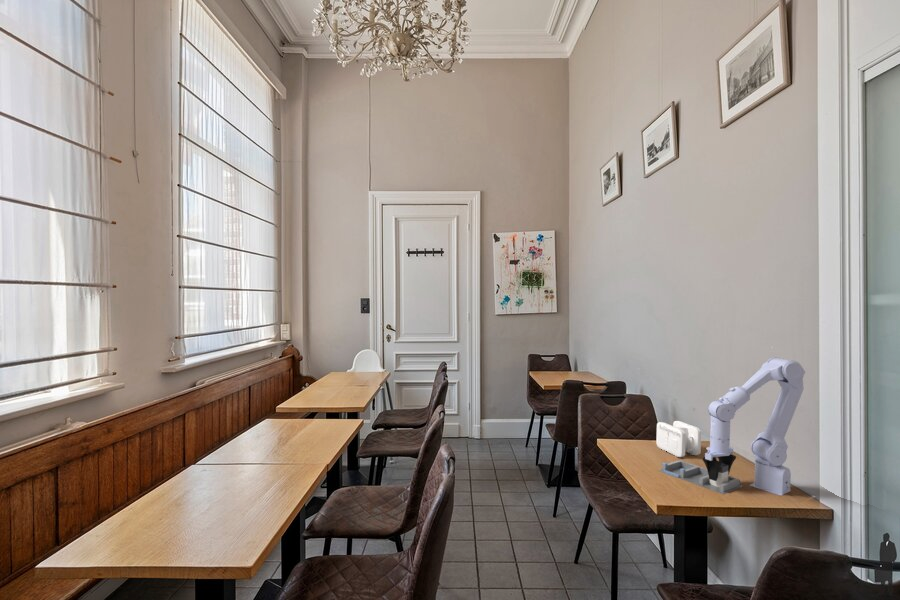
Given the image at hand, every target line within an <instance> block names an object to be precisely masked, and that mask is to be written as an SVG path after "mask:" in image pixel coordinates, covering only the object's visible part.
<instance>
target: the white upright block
mask: <svg viewBox="0 0 900 600" xmlns="http://www.w3.org/2000/svg"><path fill="white" fill-rule="evenodd" d="M728 476H729V475H728V465H727V464H723V463H722V464H721V466H720V468H719V472H718V478H717V481H714V480H711V479H710V484H711V485H714V486H717V487H720V484H723V483H726V482H728Z"/></svg>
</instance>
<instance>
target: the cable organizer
mask: <svg viewBox="0 0 900 600" xmlns="http://www.w3.org/2000/svg"><path fill="white" fill-rule="evenodd" d="M656 446H657V447H658V449H660V450H661V449H662V450H661V451H663V450H665V451H667V452H666V453H669V454H671V455H672V454H673V455H675V456H674V457H676V456H677V457H676V458H684V457H685V456H686V452H687V454H689V453H690V454H689V455H691V454H692V455H691V456H693V455H695V456H699V455H700V454H701V453H702V452H701V451H702V431H701V429H700V428H699V427H697V426H695V425H691V424H689V423H687V422H683V421H681V420H675V421H673V423H672V425H671V424H669V423H666V422H664V421H663V422H662V421H661V422H660V421H659V422H657V423H656ZM665 451H664V452H665ZM673 455H672V456H673Z"/></svg>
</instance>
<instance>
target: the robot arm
mask: <svg viewBox="0 0 900 600" xmlns="http://www.w3.org/2000/svg"><path fill="white" fill-rule="evenodd" d="M805 373H806V371H805V369H804V367H803V366H802V364H800V362H798V361H796V360H789V359H784V358H780V357H775V356H774V357H771V358H768V360H766V362H764V363H762V365H761V368H760V369H759V370H757V371H756V373H754V374H753V375H752V376H750V378H749V379H748V380H747V381H746V382H744V384H743V385H741V386H735V387H729V389H728V390H729V391H728V392H727V393H725V394H724V395H723V396H722V397H719V398H718V400H714V401H712V402H711V403H710V404H709V406H708V407H706V410H707V413H708V415H709V416H710V429H709V430H710V435H709V446H707V447H706V450H707V452H705V453H704V456H702V461H703V463H704V465H705V468H706V469H707V471H708V475H709V479H711V480H714V481H717V478H718V472H719V468H720V466H721V464H722V463H723V464H727V465H728V476H730V475H729V474H730V472H731V468H732V466H733V464H734V462H735V460H736V459H737V456H736V455H735V454H734V448H733V447H731V445H730V444H731V420H733V419H734V418H735V415H736V413H737V411H739V409H740V408H742V406H744V405H745V404H747V403H748V402H749V401H750V400H751V395H752V393H754V392H756V391H757V390H758V389H760V388H761V387H762V386H764V385H766V384H767V383H769V381H777V382H778V385H779V386H780V387H781V390H780V392H779V394H778V398H777V399H776V403H775V405H774V407H773V410H772V413H771V415H770V418H769V420H768V422H767V425H766V428H765V430H763V431H762V432H760V433H758V434H757V437H756V438H755V439H754V440H753V441H752V442H751V444H750V452H752V454H753V455H754V482H753V483H750V484H749V487H753V488H757V489H759V490H762V491H766V492H769V493H771V494H774V495H778V496H783V495H785V494H788V493H789V492H790V493H791V491H792V490H791V479H792V478H791V475H792V474H791V469H790V468H789V467H786V466H784V464H785V462H786V461H787V459H788V454H787V451H788V447H789V445H788V444H787V442H786V439H785V437H786V435H787V433H788V429H789V426H790V425H791V421H792V419H793V418H794V415H795V412H796V410H797V407H798V404H799V402H800V399H801V398H802V397H801V396H802V394H803V392H804V376H805ZM717 458H718V459H717Z"/></svg>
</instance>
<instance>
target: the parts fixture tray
mask: <svg viewBox="0 0 900 600" xmlns="http://www.w3.org/2000/svg"><path fill="white" fill-rule="evenodd" d="M657 471H658V472H660V473H663V474H667V475H669V476H671V477H674V478H676V479H680V480H682V481H684V482H688V483H690V484H693V485H696V486H699V487H701V488H705V489H707V490H711V491H713V492H716V493H719V494H722V495H726V494H728V493H730V492H732V491H735V490H737V489H740V488H742V487H744V485H742V484H741V479H740V478H737V477H734V476H730V475H728V482H726V483H723V484H720V487H717V486H714V485H711V484H710V479H709V475H708V471H707V467H702V466H699V465H697V464H693V463H690V462H686V461H684V460H682V459H681V460H680V459H678V460H674V461H671V462H669V463H667V462H662V463H661V469H659V470H657Z"/></svg>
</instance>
